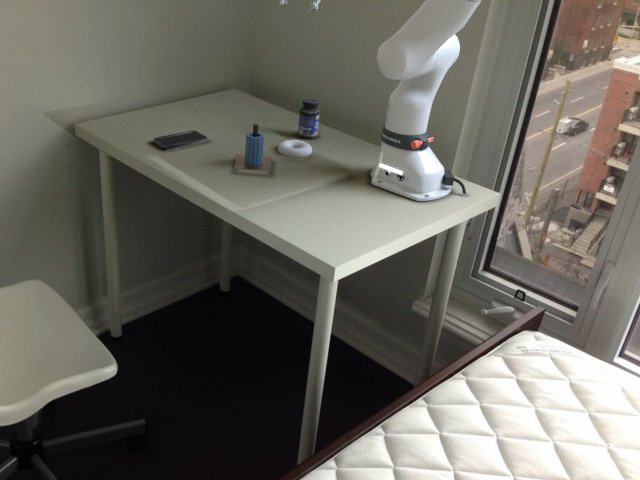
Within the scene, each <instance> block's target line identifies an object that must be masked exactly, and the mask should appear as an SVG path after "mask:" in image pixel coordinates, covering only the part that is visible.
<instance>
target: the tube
mask: <svg viewBox="0 0 640 480" xmlns="http://www.w3.org/2000/svg"><path fill="white" fill-rule="evenodd" d="M264 143H265V134H264V133H262V132H259V131H258V137H253V131H250V132H247V133H246V135H245V150H244V155H245V163H246V164H247V165H250V166H259V165H261V164H262V161H263V157H264V146H265V145H264Z"/></svg>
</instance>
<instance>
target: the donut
mask: <svg viewBox="0 0 640 480" xmlns="http://www.w3.org/2000/svg"><path fill="white" fill-rule="evenodd" d="M277 151H278V153H280V154H281V155H283V156H286V157H291V158H304V157H308V156H311V154H312V153H313V147H312V146H311V145H310V143H308V142H306V141H304V140H301V139H300V140H299V139H287V140H284V141H282V142H280V143H279V144H278V145H277Z"/></svg>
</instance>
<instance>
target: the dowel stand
mask: <svg viewBox="0 0 640 480" xmlns="http://www.w3.org/2000/svg"><path fill="white" fill-rule="evenodd" d="M252 132H253V137H258V132H259V123H253V124H252ZM272 163H273V156H263V161H262V164H261V165H259V166H250V165H247V164H246V163H245V154H236V157H235V161H234V169H235V170H246V171H248V170H249V171H262V172H272V165H273V164H272Z"/></svg>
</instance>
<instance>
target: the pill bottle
mask: <svg viewBox="0 0 640 480" xmlns="http://www.w3.org/2000/svg"><path fill="white" fill-rule="evenodd" d="M319 102H320V101H319V100H318V99H316V98H311V97H309V98H304V99H303V100H302V106H301V107H300V109H299V117H298V126H297V127H298V128H297V135H298V137H300V138H302V139H307V140H311V139H312V140H313V139H316V138H317V137H318V133H319V123H320V114H321V113H320V112H321V110H320V109H319V107H318V106H319Z"/></svg>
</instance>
